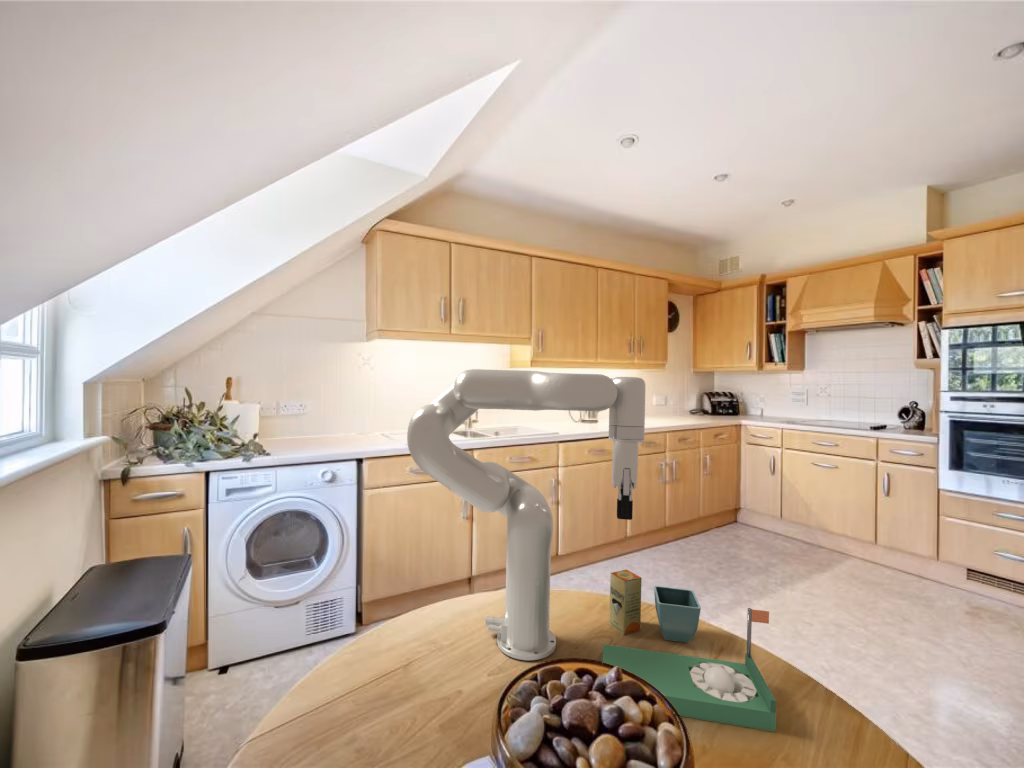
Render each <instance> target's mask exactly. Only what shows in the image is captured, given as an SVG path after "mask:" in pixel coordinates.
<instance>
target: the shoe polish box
mask: <svg viewBox="0 0 1024 768" xmlns="http://www.w3.org/2000/svg"><path fill="white" fill-rule="evenodd" d="M609 575H610V576H609V579H610V580H609V583H610V584H609V611H608V613H609V615H608V616H609V618H608V619H609V621H608V622H609V624H608V625H609V626H611V627H612V628H614V629H615V630H616V631H618V633H620V634H621V635H622V636H626V635H629V634H633V633H635V632H636V633H637V632H640V631H641V623H642V622H641V619H642V617H641V616H642V614H641V613H642V612H641V611H642V610H641V608H642V580H643V579H642V577H641V576H639V575H638V574H635V573H634V572H632V571H630V570H628V569H622V570H618V571H614V572H610V574H609Z"/></svg>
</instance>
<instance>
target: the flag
mask: <svg viewBox="0 0 1024 768" xmlns="http://www.w3.org/2000/svg"><path fill="white" fill-rule="evenodd" d="M746 618H747V623H746V624H747V625H746V626H747V627H746V628H747V629H746V631H747V632H746V653H747V657H749V658H751V657H752V628H753V627H752V623H759V624H770V610H768V611H767V610H760V609H759V610H758V609H753V608H751V607H748V608H747V617H746ZM746 667H747V665H746Z"/></svg>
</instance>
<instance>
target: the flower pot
mask: <svg viewBox="0 0 1024 768" xmlns="http://www.w3.org/2000/svg"><path fill="white" fill-rule="evenodd" d="M653 591H654V593H653V594H654V606H655V607H654V608H655V612H656V618H657V620H658V625H659V629H660V632H661V635H662V637H663V639H664V640H666V641H672V642H680V643H686V644H688V643H690V642H691V640H693V638H694V637H695V636H696V633H697V632H698V627H699V621H700V616H701V615H700V614H701V606H700V602H699V601H698V598H697V595H696V594H695V592H694V591H693V590H692V589H686V588H675V587H668V586H662V585H661V586H660V585H653Z"/></svg>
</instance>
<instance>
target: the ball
mask: <svg viewBox="0 0 1024 768" xmlns="http://www.w3.org/2000/svg"><path fill="white" fill-rule="evenodd" d="M704 682H706V683H707V684H708V685H709V686H710V687H711V688H713V689H716V690H718V691H720V692H723V693H730V694H734V682H733V679H732V677H731V676H730V674H729V673H728V672H727V671H726V670H725V669H723V668H721V667H717V666H713V667H710V668H708V669H707V670H706V672H705V674H704Z"/></svg>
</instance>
